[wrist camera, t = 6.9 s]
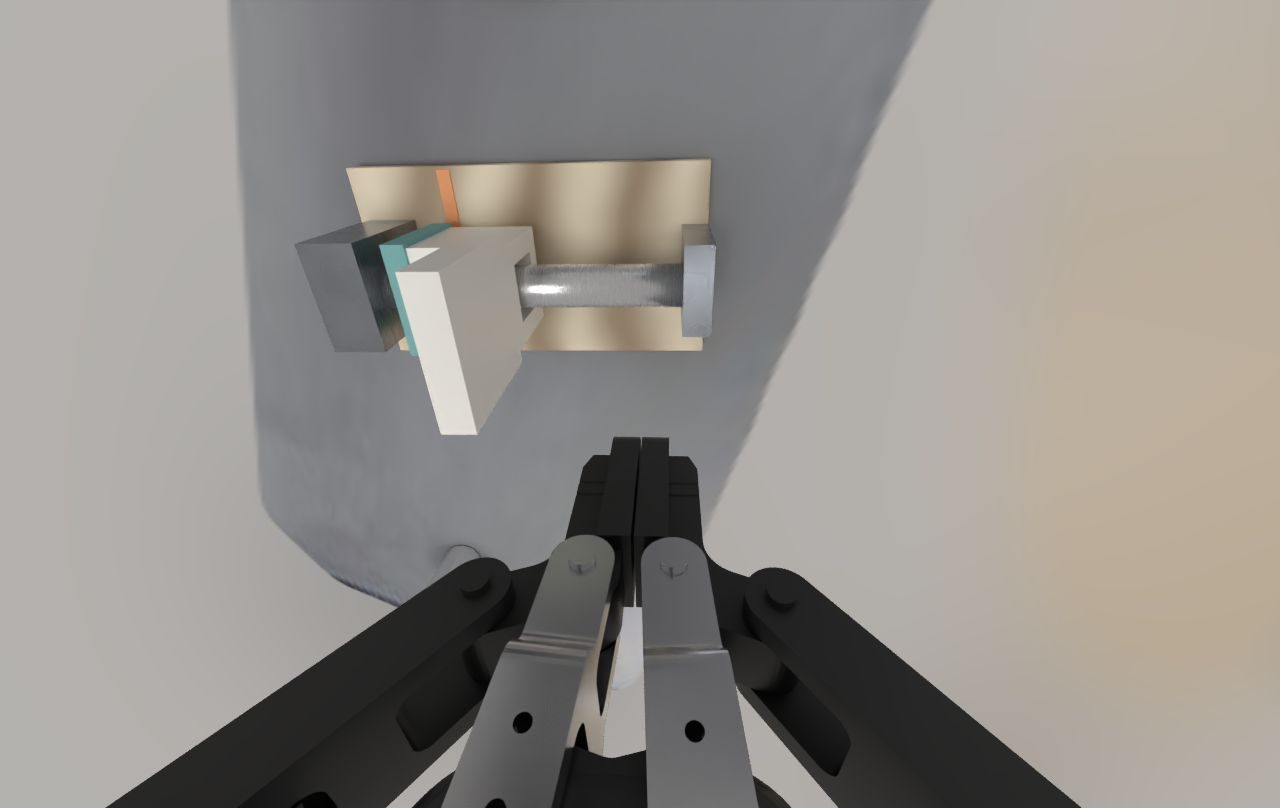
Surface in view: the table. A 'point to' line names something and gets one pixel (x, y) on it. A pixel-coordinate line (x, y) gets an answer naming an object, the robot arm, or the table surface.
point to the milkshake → (453, 561)
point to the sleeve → (468, 318)
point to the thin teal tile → (398, 259)
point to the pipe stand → (538, 249)
